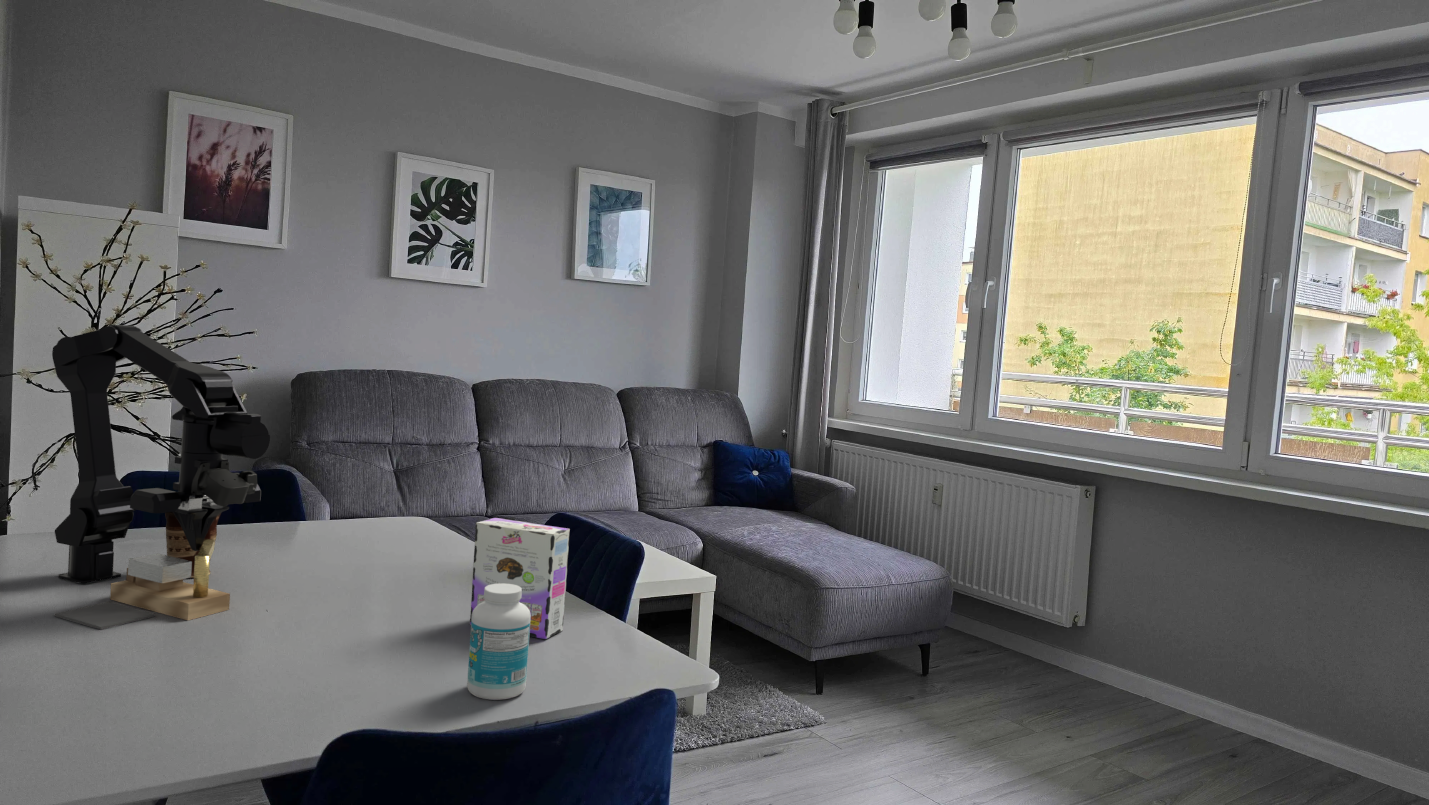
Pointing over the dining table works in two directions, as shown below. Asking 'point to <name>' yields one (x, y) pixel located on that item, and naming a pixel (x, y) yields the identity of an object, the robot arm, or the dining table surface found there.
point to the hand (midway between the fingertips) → (195, 550)
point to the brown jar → (184, 539)
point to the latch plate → (168, 597)
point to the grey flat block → (159, 568)
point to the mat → (104, 615)
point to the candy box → (524, 568)
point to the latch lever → (202, 568)
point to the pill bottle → (499, 644)
